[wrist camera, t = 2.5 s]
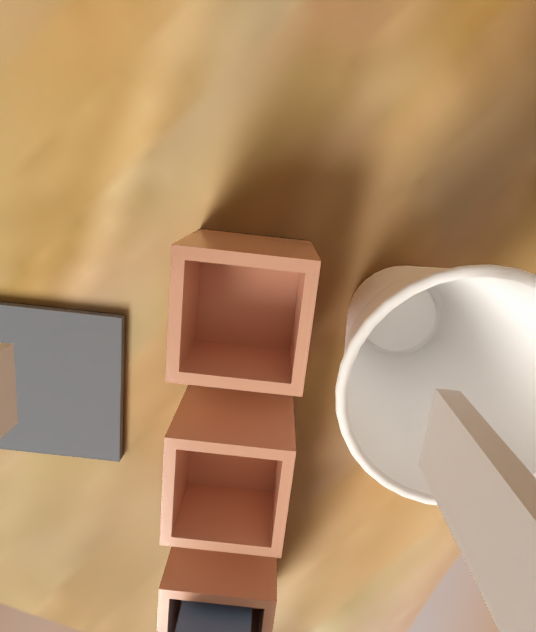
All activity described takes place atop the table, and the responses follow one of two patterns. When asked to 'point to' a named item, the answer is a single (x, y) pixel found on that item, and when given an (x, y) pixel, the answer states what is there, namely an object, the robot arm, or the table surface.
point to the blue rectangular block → (213, 617)
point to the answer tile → (66, 380)
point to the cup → (436, 363)
